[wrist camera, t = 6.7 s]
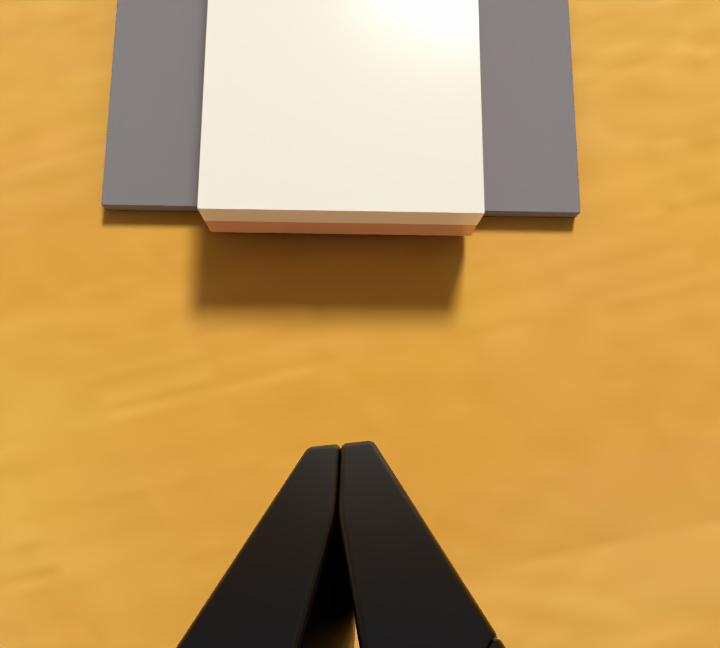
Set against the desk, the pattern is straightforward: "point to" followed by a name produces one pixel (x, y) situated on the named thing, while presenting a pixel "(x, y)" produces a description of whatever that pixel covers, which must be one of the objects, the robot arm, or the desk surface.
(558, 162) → the gray pad
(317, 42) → the tile
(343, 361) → the desk surface
